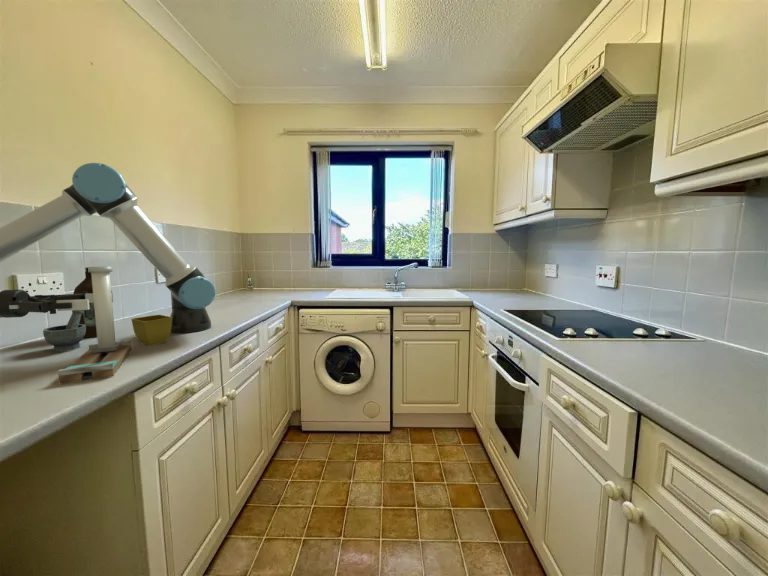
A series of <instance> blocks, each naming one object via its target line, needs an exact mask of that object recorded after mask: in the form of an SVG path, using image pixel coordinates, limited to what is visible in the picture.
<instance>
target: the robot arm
mask: <svg viewBox="0 0 768 576" xmlns="http://www.w3.org/2000/svg"><path fill="white" fill-rule="evenodd" d="M71 180H72V184H71V185H70V186H68V187H67V188H65V189H63V190H61V195H60V196H58V197H56V198H54V199H52V200H50V201H49V202H46V203H45V204H42V205H41V206H39V207H37V208H35V209H32V210H31V211H29V212H28V213H26V214H24V215H22V216H20V217H18V218H16V219H15V220H13V221H11V222H9V223H7V224H4V225H3V226H1V227H0V264H1V263H2V262H5V261H6V260H7V259H9V258H11V257H13V256H15V255H16V254H19V252H21V251H23V250H25V249H27V248H28V247H30V246H32V245H34V244H35V243H37V242H39V241H41V240H43V239H45V238H46V237H48V236H49V235H51V234H54V233H55V232H57V231H58V230H61V229H62V228H64V227H65V226H67V225H69V224H71V223H73V222H75V221H76V220H78V219H80V218H82V217H84V216H85V217H91V216H92V215H94V214H96V213H97V214H98V215H99V216H100V217H101V218H105V219H108V220H109V219H110V220H111V222H112V223H114V225H115V226H116V227H117V229H119V230H120V231H121V233H123V235H125V237H126V238H127V239H128V240H129V241H130V242H131V243H132V244H133V245H134V247H136V248H137V249H138V251H139V252H140V253H141V254H142V255H143V256H144V257H145V258H146V259H147V261H148V262H149V263H150V264H151V265H152V266H153V267H154V268H155V269H156V271H158V273H160V274H161V276H162V277H163V278H164V279H165V283H164V285H165V287H166V288H167V289H168V290H169V292H170V299H171V301H170V302H171V314H170V316H169V317H172V326H171V332H170V333H181V334H182V333H192V332H193V333H194V332H200V331H205V330H209V329H210V328H212V321H211V318H210V315H209V313H208V311H207V309H206V307H208V306H210V305H211V304H212V302H213V301H214V300H215V297H216V294H217V293H216V292H217V291H216V290H217V289H216V287H215V285H214V282H212V281H211V280H210V279H208V278H207V277H205V275H204V272H203V271H200V269H198V267H197V266H196V265H191V264H189V263H188V262H187V261H186V259H184V258H183V257H182V255H181V254H180V253H179V252H178V251H177V249H175V247H174V246H173V245H172V244H171V243H170V241H169V240H168V238H166V237H165V235H163V233H162V232H161V231H160V230H159V228H158V227H157V226H156V225H155V224H154V222H153V221H151V219H150V218H149V217H148V216H147V215H146V214H145V213H144V211H143V210H142V209H141V208H140V207H139V205H138V199H139V198H138V197H137V195H135V193H134V192H133V191H132V189H131V188H130V187H129V186H128V185H127V184H126V181H125V179H124V177H123V176H122V175H121V173H120V172H118V171H117V169H115V168H113V167H112V166H109V165H108V164H103V163H100V162H89V163H85V164H82V165H80V166H79V167H77V168H76V170H75V171H74V172H73V174H72V178H71ZM113 302H114V296H113V293H112V303H113ZM89 303H94V297H93V294H88V293H87V291H84V293H80V294H73V293H69V294H67V293H66V294H44V295H43V294H35V295H30V294H29V293H28V291H26V290H24V289H0V319H1V318H2V319H4V318H7V319H9V318H23V317H25V316H27V315H28V314H29V313H40V314H41V313H44V314H46V313H48V312H49V314H50V315H55V314H57V312H65V311H72V310H89V309H90V307H89Z"/></svg>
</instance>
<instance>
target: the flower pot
mask: <svg viewBox="0 0 768 576" xmlns="http://www.w3.org/2000/svg"><path fill="white" fill-rule="evenodd" d="M131 323H132V328H133V332H134V335H135V337H136V338H137V340H138V342H140V344H141V345H145V346H149V347H152V346H155V345H159V344H164V343H166V342H167V341H168V339H169V337H170V335H171V333H172V332H171V326H172V317H170V316H168V315H164V314H153V315H148V316H140V317H133V318H131Z"/></svg>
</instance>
